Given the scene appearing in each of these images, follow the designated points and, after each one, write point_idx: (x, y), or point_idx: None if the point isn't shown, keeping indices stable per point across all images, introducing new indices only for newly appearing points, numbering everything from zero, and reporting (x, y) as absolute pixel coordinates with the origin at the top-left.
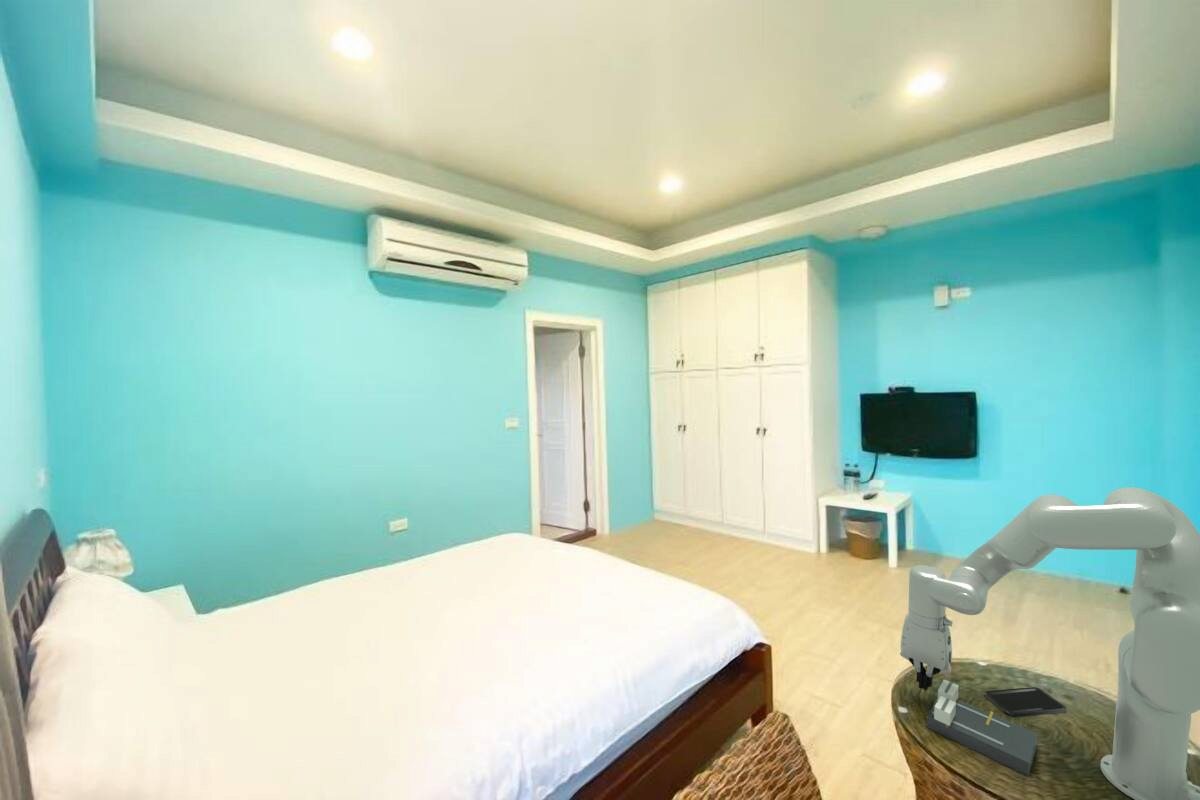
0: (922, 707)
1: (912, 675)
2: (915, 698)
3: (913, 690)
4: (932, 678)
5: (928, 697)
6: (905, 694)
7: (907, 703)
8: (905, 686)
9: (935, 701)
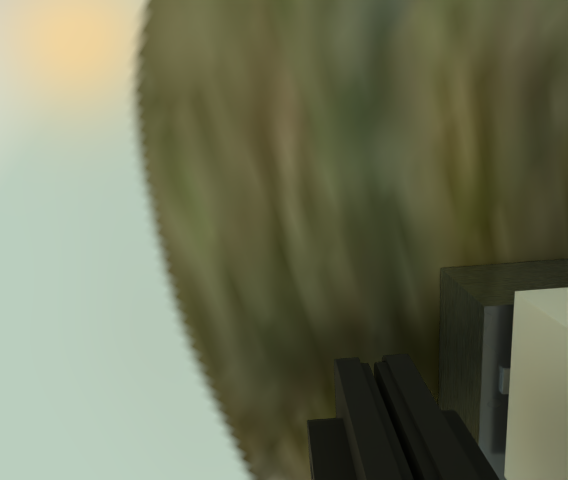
0: None
1: (146, 44)
2: (289, 346)
3: (241, 262)
4: (486, 459)
5: (354, 260)
6: (220, 356)
7: (270, 439)
8: (177, 260)
9: None
